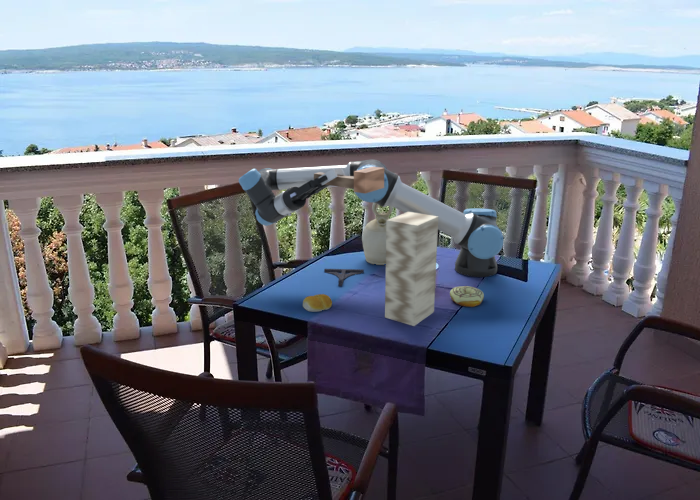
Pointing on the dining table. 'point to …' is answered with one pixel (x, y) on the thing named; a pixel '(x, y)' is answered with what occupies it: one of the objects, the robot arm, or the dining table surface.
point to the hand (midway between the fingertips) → (338, 171)
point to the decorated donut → (467, 296)
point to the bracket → (343, 273)
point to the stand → (410, 267)
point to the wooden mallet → (359, 180)
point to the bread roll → (317, 303)
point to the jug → (376, 237)
